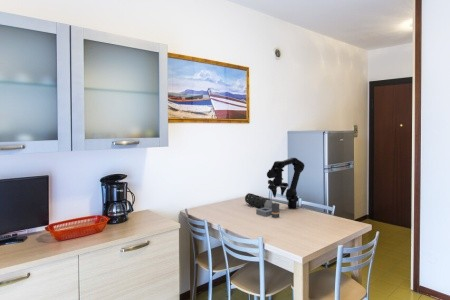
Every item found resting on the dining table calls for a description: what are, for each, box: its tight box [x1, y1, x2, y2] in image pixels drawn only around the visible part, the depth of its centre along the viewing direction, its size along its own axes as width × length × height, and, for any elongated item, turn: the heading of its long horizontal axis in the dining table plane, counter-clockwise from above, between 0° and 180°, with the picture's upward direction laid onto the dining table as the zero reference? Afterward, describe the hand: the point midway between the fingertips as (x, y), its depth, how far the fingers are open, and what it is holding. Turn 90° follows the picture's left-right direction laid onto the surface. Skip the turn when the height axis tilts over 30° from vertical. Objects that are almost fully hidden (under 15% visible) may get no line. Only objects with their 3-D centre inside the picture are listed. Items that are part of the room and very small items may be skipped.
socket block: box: [255, 207, 272, 218], centre depth 236 cm, size 10×10×4 cm
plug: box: [271, 202, 280, 219], centre depth 228 cm, size 4×4×11 cm
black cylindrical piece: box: [244, 192, 274, 209], centre depth 259 cm, size 10×28×10 cm, turn 31°
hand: (278, 196), depth 247 cm, fingers open, 9 cm apart
